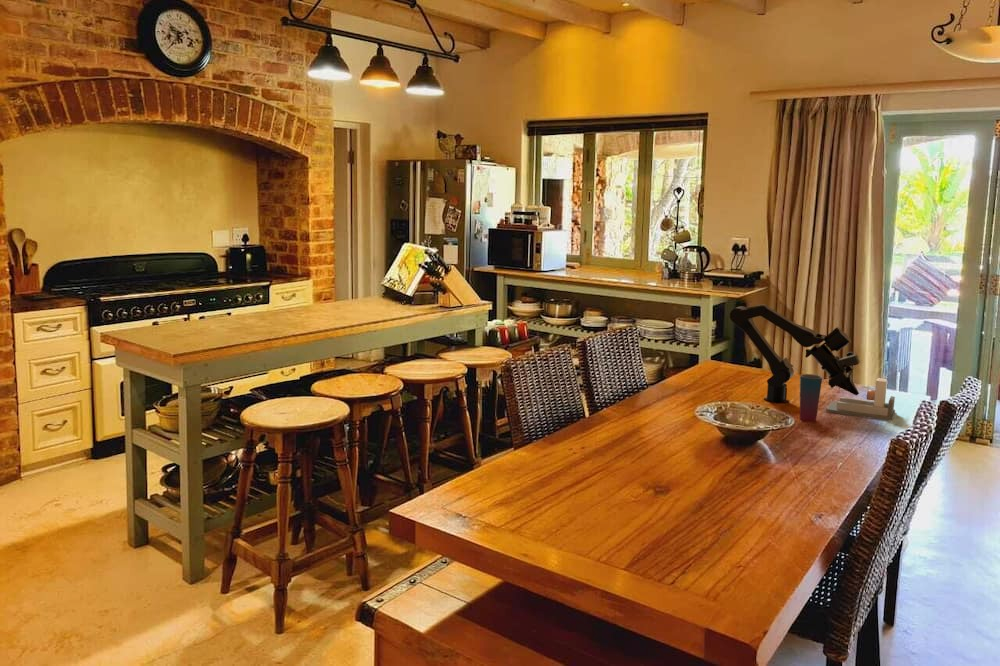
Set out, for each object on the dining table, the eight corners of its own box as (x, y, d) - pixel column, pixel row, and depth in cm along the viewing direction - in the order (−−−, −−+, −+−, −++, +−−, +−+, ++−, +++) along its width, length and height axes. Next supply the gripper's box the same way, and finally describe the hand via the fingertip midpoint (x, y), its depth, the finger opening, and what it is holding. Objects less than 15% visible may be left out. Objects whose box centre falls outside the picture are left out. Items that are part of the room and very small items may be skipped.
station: (826, 411, 265) (827, 395, 264) (831, 404, 275) (832, 388, 274) (891, 420, 255) (893, 403, 254) (894, 412, 265) (896, 395, 264)
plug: (865, 411, 262) (867, 379, 260) (866, 407, 266) (869, 376, 264) (882, 413, 259) (885, 381, 257) (884, 409, 263) (887, 378, 261)
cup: (795, 421, 254) (799, 377, 251) (798, 416, 260) (801, 373, 257) (817, 423, 251) (821, 379, 248) (819, 418, 257) (823, 375, 254)
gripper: (842, 349, 256) (874, 386, 253) (849, 341, 272) (880, 375, 268) (815, 369, 262) (846, 405, 258) (824, 360, 278) (853, 394, 274)
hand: (857, 394), depth 265 cm, fingers closed
